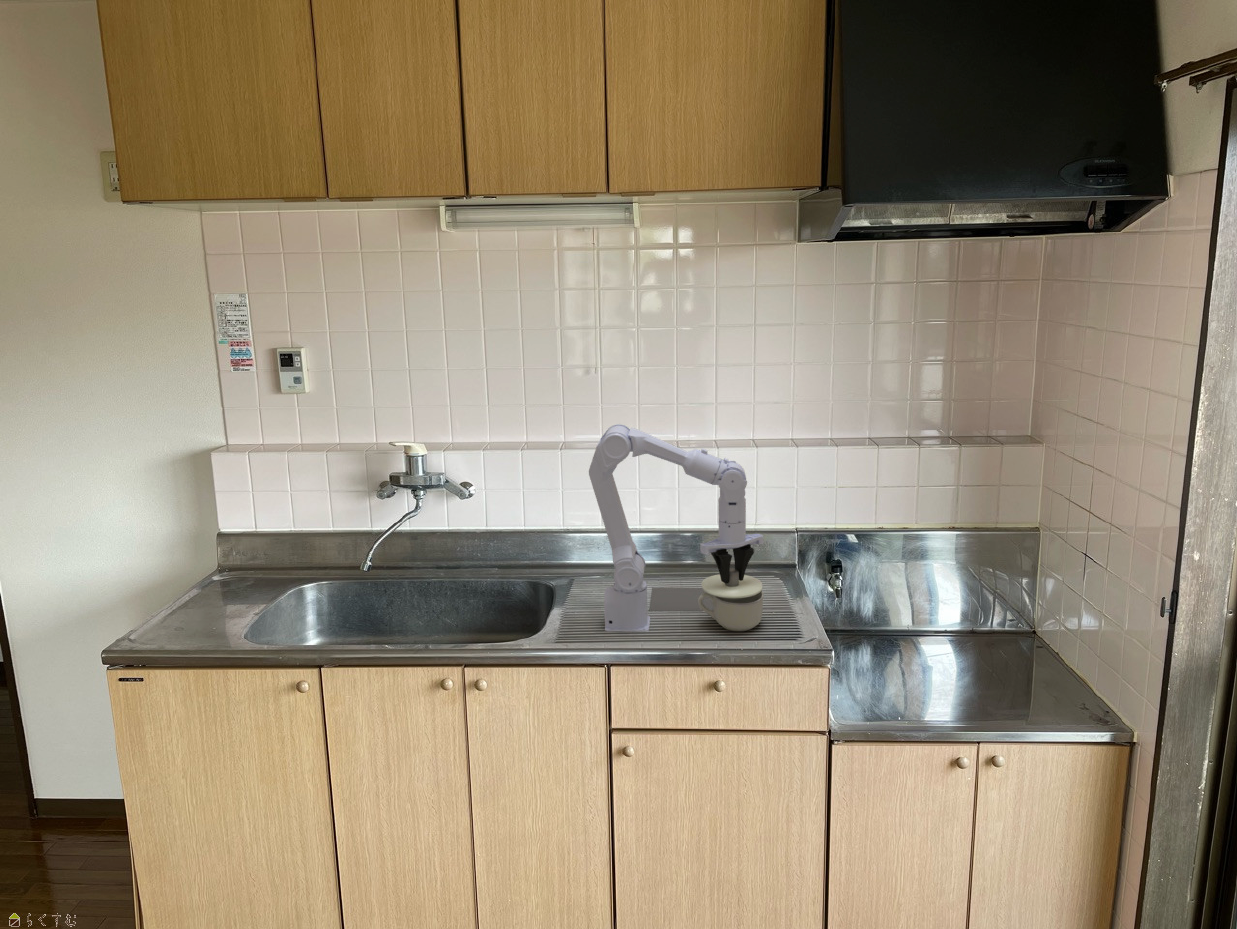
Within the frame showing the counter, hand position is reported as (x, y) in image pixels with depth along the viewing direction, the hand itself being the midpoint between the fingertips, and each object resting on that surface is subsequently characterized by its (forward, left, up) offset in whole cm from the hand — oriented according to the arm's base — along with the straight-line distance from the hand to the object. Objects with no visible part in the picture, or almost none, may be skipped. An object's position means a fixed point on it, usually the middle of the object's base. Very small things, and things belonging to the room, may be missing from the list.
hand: (732, 580), depth 197 cm
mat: (-11, +15, -10) cm, 21 cm away
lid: (0, 0, -1) cm, 1 cm away
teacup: (0, 0, -11) cm, 11 cm away
